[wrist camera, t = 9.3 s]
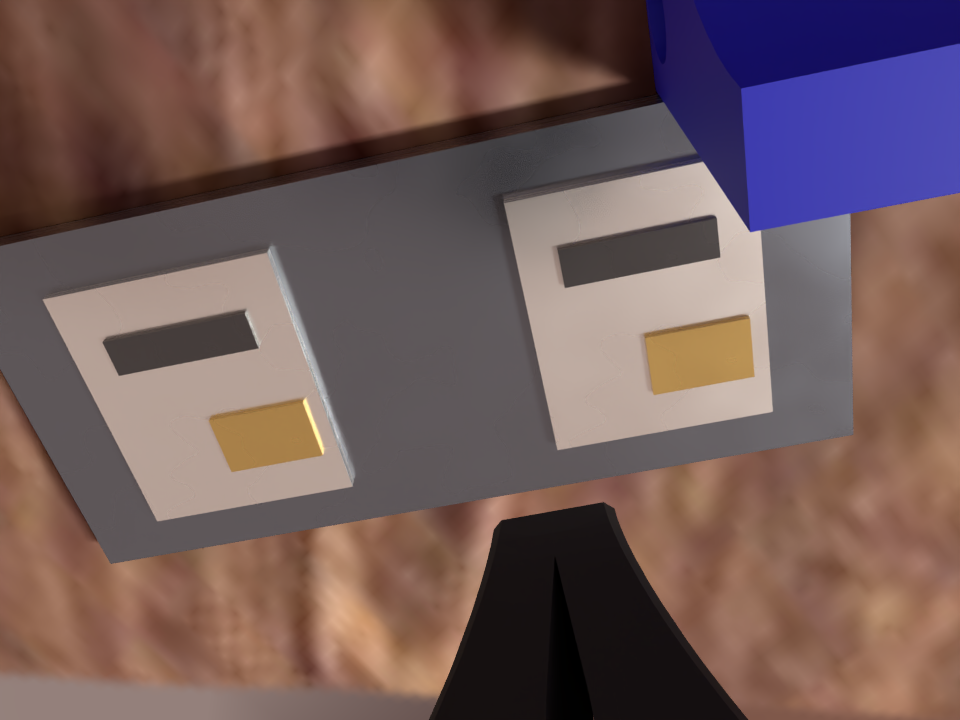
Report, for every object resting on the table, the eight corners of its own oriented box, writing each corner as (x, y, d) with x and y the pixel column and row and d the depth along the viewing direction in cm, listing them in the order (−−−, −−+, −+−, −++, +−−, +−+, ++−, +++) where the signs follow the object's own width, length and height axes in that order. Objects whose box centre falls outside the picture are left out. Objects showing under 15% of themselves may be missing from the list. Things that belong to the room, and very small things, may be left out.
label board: (836, 55, 14) (855, 66, 13) (844, 419, 18) (858, 443, 17) (-48, 247, 16) (-72, 266, 15) (118, 547, 19) (105, 573, 19)
